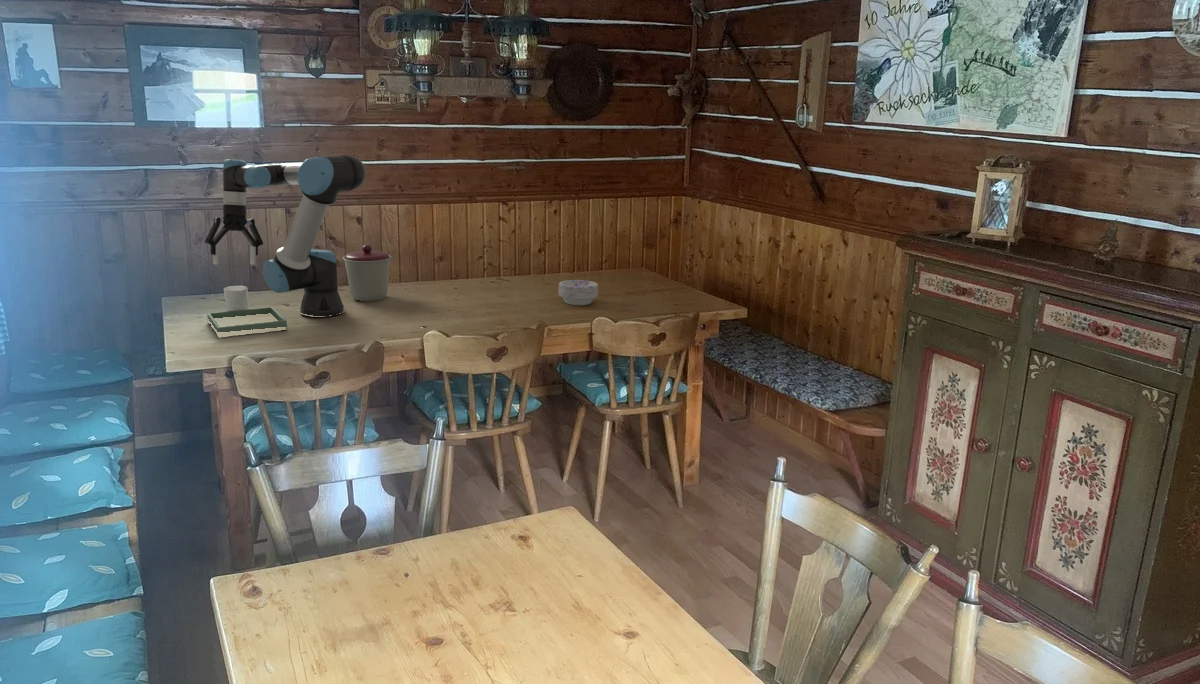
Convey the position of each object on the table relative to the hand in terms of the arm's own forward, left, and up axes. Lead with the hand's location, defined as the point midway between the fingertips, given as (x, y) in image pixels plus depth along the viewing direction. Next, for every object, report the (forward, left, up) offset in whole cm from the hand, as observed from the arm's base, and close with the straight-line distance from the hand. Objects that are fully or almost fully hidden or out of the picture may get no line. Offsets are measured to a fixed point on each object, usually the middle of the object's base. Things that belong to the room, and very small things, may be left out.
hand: (234, 264), depth 326 cm
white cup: (-3, +4, -18) cm, 18 cm away
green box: (-17, +15, -17) cm, 28 cm away
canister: (-29, -38, -18) cm, 51 cm away
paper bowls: (-104, -68, -18) cm, 126 cm away
